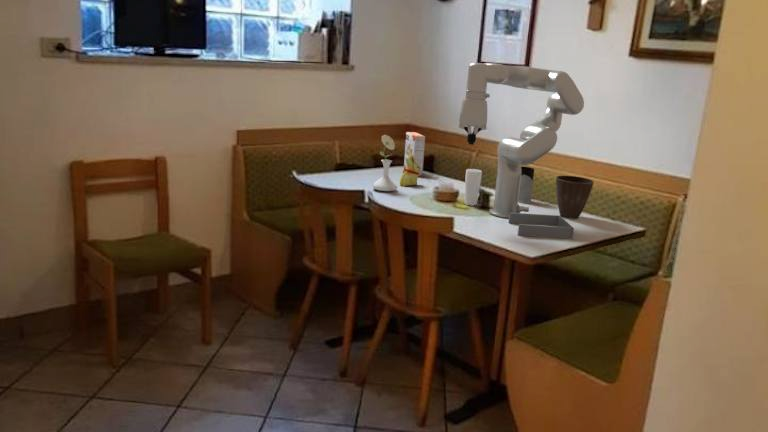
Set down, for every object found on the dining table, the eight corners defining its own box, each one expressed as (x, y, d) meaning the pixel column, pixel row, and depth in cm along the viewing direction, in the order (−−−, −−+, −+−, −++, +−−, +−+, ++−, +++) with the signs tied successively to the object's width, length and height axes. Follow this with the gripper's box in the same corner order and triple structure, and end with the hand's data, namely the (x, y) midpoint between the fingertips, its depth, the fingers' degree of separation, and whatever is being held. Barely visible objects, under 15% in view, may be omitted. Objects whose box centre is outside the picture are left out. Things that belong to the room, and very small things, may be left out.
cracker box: (402, 171, 352) (405, 131, 347) (413, 171, 354) (416, 131, 349) (411, 176, 339) (414, 135, 334) (422, 176, 341) (426, 135, 336)
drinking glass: (477, 203, 289) (480, 169, 286) (479, 206, 283) (483, 172, 279) (461, 202, 289) (465, 168, 285) (463, 206, 283) (467, 171, 279)
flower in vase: (401, 192, 299) (405, 137, 293) (377, 193, 295) (381, 137, 289) (390, 186, 311) (394, 133, 305) (367, 187, 307) (370, 133, 301)
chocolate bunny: (421, 185, 318) (424, 154, 315) (403, 187, 312) (405, 155, 309) (413, 182, 324) (415, 152, 320) (395, 184, 318) (397, 153, 314)
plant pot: (573, 211, 286) (578, 175, 282) (595, 220, 272) (601, 182, 268) (544, 212, 280) (549, 175, 276) (565, 222, 267) (570, 183, 263)
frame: (558, 225, 261) (560, 215, 260) (572, 238, 243) (573, 228, 242) (508, 222, 260) (509, 212, 259) (518, 235, 243) (519, 224, 242)
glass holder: (510, 201, 297) (514, 168, 294) (514, 195, 311) (518, 163, 307) (530, 204, 295) (534, 170, 291) (533, 197, 308) (537, 166, 304)
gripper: (493, 96, 257) (488, 144, 261) (454, 94, 256) (450, 141, 261) (497, 98, 249) (491, 146, 254) (457, 95, 249) (452, 144, 253)
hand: (470, 144), depth 257 cm, fingers closed
